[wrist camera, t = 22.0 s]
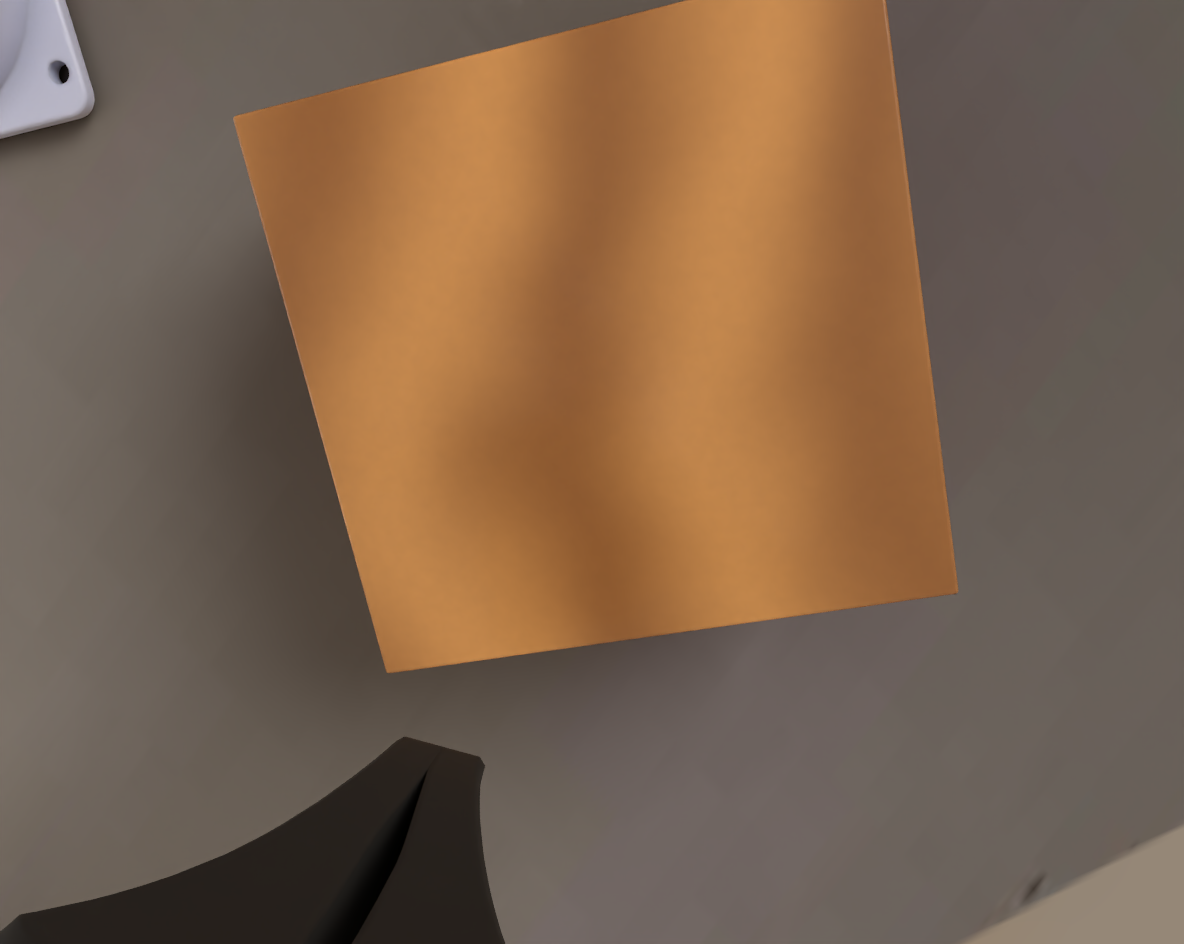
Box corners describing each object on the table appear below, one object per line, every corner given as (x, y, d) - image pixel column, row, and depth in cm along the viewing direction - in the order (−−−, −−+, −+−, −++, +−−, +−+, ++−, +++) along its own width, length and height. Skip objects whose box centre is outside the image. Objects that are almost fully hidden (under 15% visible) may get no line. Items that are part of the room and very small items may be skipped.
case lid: (872, -37, 14) (880, -51, 14) (949, 580, 17) (960, 594, 16) (250, 121, 16) (230, 116, 16) (397, 659, 19) (386, 674, 18)
